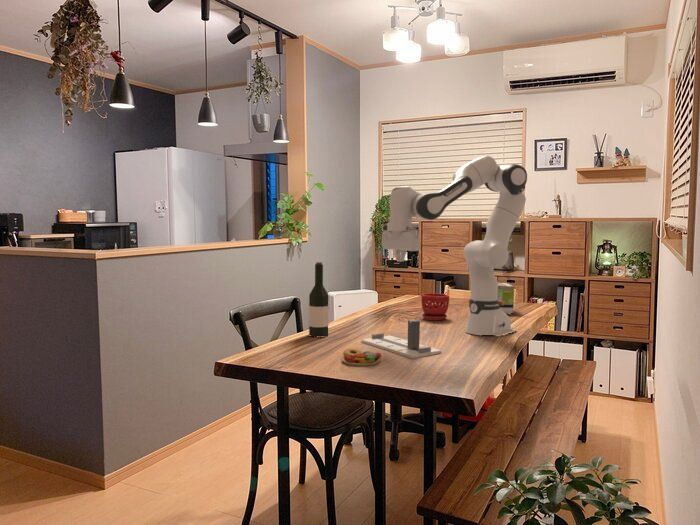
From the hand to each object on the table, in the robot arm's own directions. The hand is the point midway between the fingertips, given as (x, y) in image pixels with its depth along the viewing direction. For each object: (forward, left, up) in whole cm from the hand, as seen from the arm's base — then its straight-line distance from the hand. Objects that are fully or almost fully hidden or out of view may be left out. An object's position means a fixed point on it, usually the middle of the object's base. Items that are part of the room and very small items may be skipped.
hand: (400, 261), depth 225 cm
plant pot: (-41, -23, -31) cm, 56 cm away
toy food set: (+35, +23, -32) cm, 52 cm away
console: (+11, +14, -31) cm, 36 cm away
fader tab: (+11, +22, -30) cm, 38 cm away
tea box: (-84, -20, -31) cm, 92 cm away
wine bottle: (+26, -20, -31) cm, 45 cm away
